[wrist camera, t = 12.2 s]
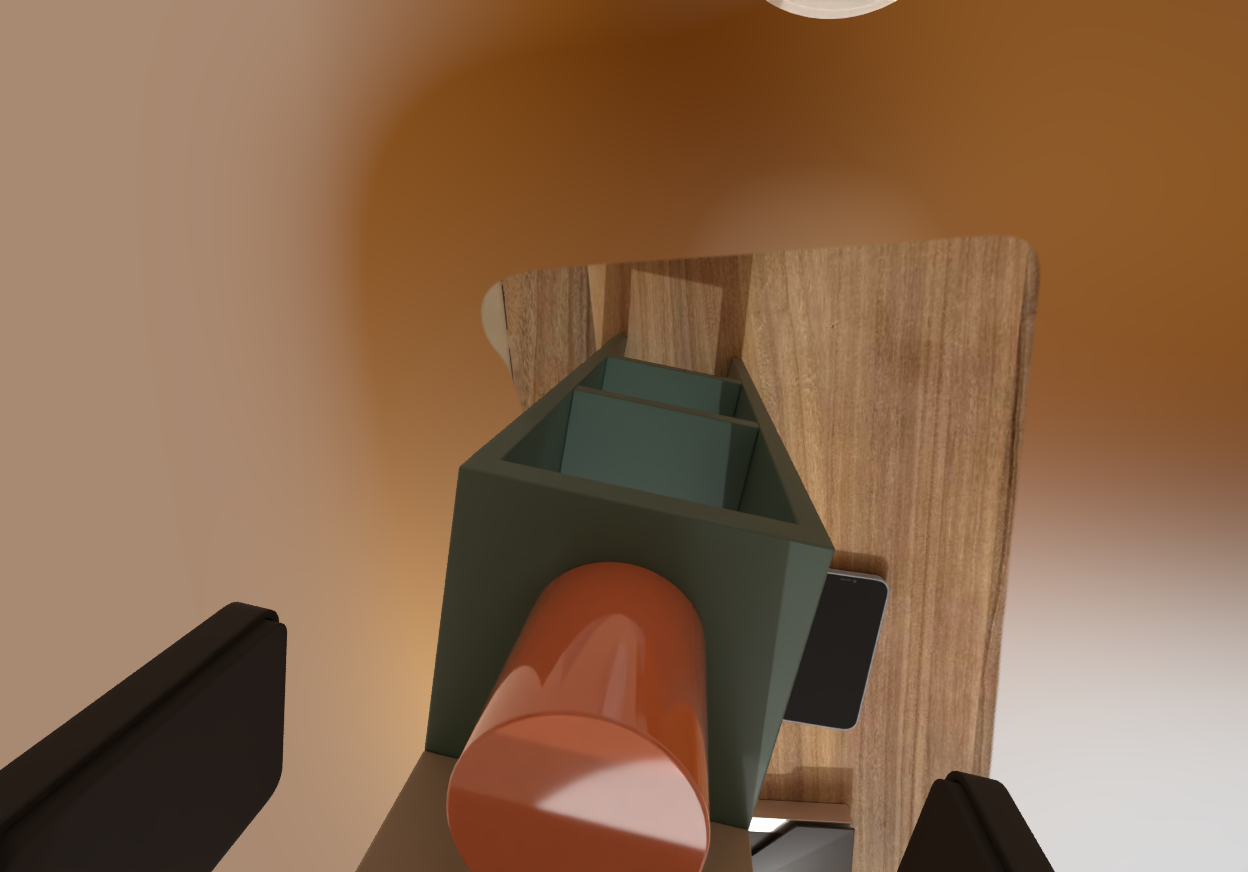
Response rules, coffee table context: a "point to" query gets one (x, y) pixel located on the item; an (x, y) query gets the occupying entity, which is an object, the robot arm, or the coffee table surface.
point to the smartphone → (839, 651)
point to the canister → (592, 735)
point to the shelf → (635, 534)
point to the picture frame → (801, 837)
